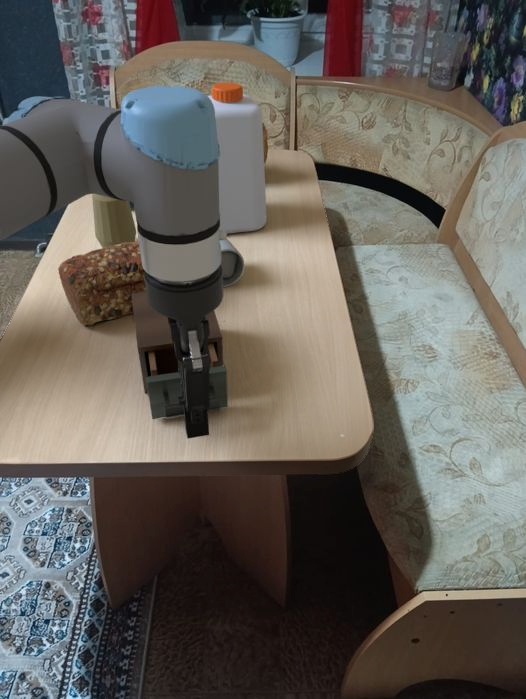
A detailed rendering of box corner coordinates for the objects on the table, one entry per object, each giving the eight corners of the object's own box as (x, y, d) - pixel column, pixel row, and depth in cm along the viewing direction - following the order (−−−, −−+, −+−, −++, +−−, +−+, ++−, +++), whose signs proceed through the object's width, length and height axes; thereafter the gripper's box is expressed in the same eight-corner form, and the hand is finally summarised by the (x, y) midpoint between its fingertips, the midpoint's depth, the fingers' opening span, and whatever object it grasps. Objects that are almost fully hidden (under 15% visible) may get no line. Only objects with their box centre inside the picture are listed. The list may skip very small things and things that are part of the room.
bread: (83, 332, 89) (70, 280, 83) (64, 300, 96) (51, 250, 90) (185, 300, 97) (181, 250, 91) (161, 273, 104) (156, 225, 98)
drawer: (233, 428, 73) (232, 391, 68) (155, 441, 70) (149, 404, 66) (212, 351, 85) (210, 316, 81) (144, 361, 83) (139, 325, 78)
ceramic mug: (231, 262, 108) (229, 227, 103) (245, 283, 102) (244, 246, 97) (179, 272, 105) (175, 236, 100) (190, 294, 99) (187, 257, 94)
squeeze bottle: (146, 249, 111) (135, 162, 100) (113, 263, 107) (97, 173, 95) (123, 235, 115) (110, 150, 104) (90, 248, 111) (72, 161, 99)
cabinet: (223, 381, 81) (222, 336, 75) (145, 393, 79) (137, 348, 73) (208, 328, 91) (206, 284, 86) (138, 337, 89) (131, 293, 83)
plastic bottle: (191, 208, 126) (182, 77, 109) (254, 202, 130) (255, 74, 112) (202, 238, 115) (194, 98, 97) (270, 231, 118) (275, 94, 101)
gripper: (235, 298, 48) (238, 468, 63) (210, 231, 58) (217, 392, 73) (149, 309, 46) (173, 480, 61) (138, 238, 56) (161, 401, 71)
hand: (197, 432), depth 67 cm, fingers closed
